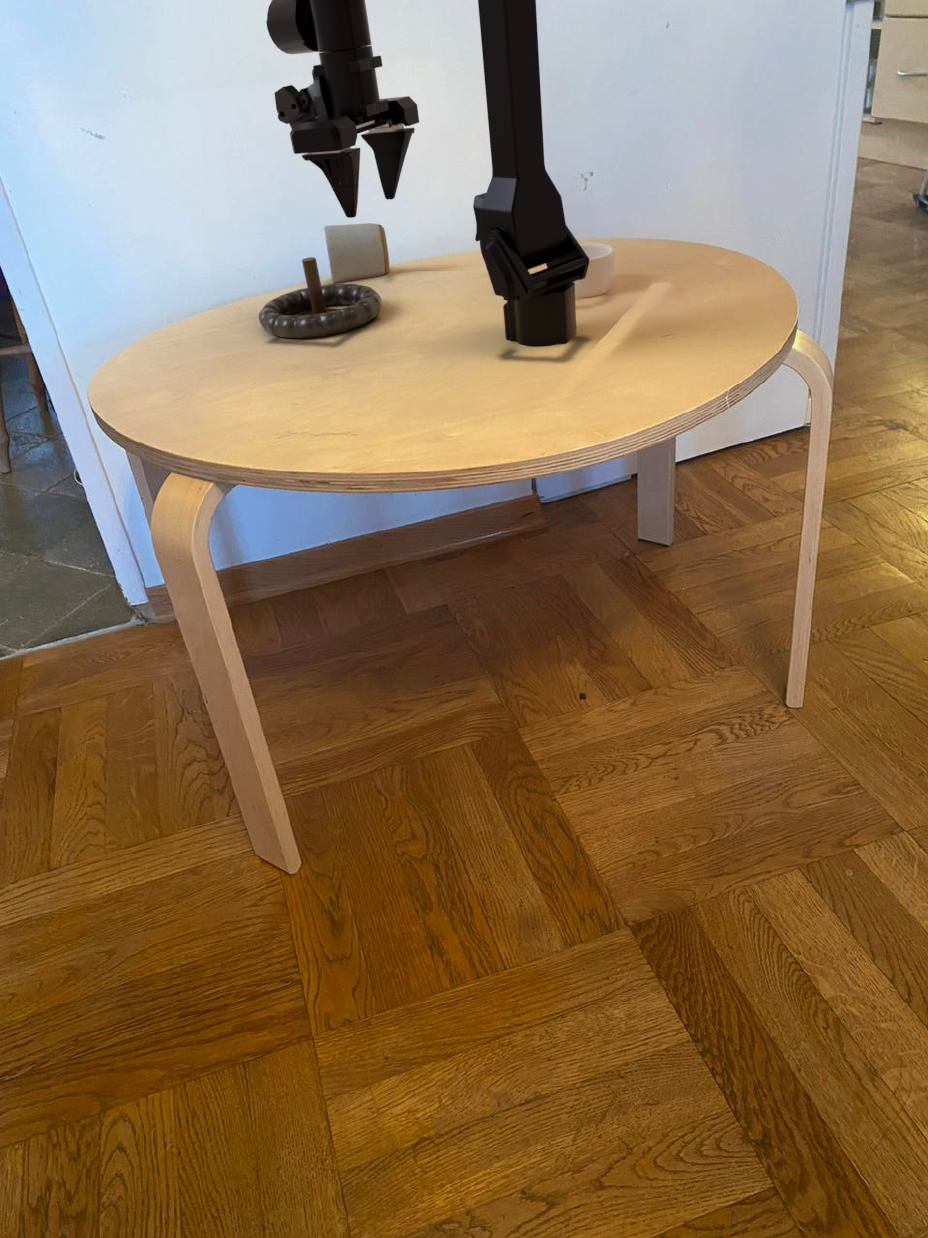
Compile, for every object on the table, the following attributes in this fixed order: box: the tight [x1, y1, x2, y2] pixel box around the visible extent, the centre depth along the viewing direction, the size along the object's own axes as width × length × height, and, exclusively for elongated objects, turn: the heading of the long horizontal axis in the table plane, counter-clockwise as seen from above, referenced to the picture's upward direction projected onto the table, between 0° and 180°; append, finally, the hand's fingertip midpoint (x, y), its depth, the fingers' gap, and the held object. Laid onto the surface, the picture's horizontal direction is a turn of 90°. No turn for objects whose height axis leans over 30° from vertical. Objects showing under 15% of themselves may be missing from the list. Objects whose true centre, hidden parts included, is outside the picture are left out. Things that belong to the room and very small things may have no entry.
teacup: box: [574, 242, 615, 300], centre depth 102 cm, size 10×8×5 cm
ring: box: [258, 283, 383, 339], centre depth 103 cm, size 14×14×2 cm
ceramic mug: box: [323, 222, 391, 284], centre depth 119 cm, size 11×8×8 cm
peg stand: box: [297, 256, 340, 336], centre depth 101 cm, size 9×9×8 cm
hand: (371, 207), depth 101 cm, fingers open, 9 cm apart
